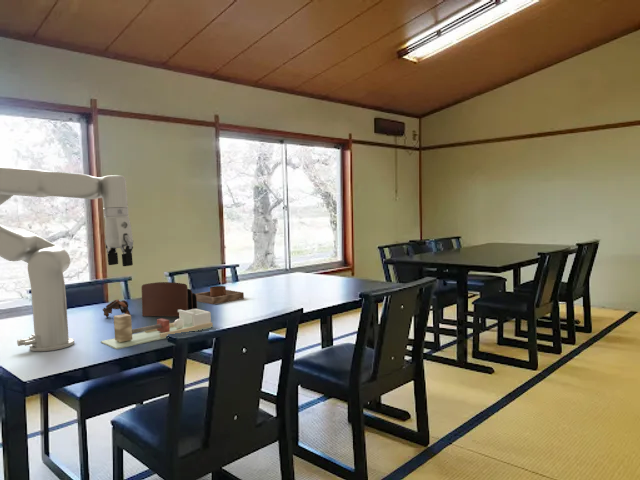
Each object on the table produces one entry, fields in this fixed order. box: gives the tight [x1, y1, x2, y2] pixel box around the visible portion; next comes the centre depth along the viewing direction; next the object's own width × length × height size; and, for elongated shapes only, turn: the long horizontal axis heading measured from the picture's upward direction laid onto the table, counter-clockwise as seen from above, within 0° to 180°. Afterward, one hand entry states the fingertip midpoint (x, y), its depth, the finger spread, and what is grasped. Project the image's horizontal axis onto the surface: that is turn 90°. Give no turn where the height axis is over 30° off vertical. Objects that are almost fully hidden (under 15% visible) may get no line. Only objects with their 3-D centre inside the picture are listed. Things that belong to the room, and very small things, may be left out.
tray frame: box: [195, 289, 245, 305], centre depth 230 cm, size 17×17×3 cm
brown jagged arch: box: [102, 298, 132, 318], centre depth 199 cm, size 12×10×8 cm
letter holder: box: [141, 281, 198, 317], centre depth 201 cm, size 10×20×14 cm, turn 82°
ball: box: [173, 318, 184, 329], centre depth 172 cm, size 4×4×4 cm
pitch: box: [100, 308, 214, 350], centre depth 167 cm, size 35×12×6 cm, turn 136°
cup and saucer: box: [208, 285, 230, 297], centre depth 230 cm, size 12×12×6 cm
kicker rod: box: [113, 313, 170, 342], centre depth 162 cm, size 17×5×8 cm, turn 136°
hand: (120, 265), depth 160 cm, fingers open, 9 cm apart
